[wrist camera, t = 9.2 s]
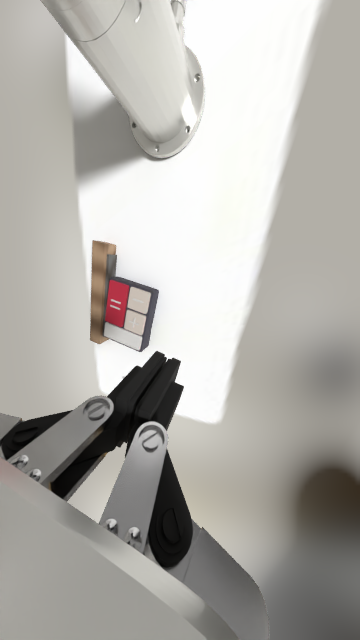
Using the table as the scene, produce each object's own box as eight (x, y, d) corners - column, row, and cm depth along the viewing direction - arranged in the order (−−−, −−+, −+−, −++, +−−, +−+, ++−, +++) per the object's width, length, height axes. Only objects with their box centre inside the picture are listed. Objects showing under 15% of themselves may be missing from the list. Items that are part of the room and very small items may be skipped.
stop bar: (104, 242, 38) (92, 240, 35) (118, 245, 37) (107, 244, 34) (100, 335, 47) (90, 340, 44) (111, 339, 47) (101, 345, 44)
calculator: (152, 291, 35) (139, 354, 40) (161, 289, 39) (148, 346, 44) (107, 276, 37) (100, 337, 42) (119, 276, 41) (112, 331, 46)
